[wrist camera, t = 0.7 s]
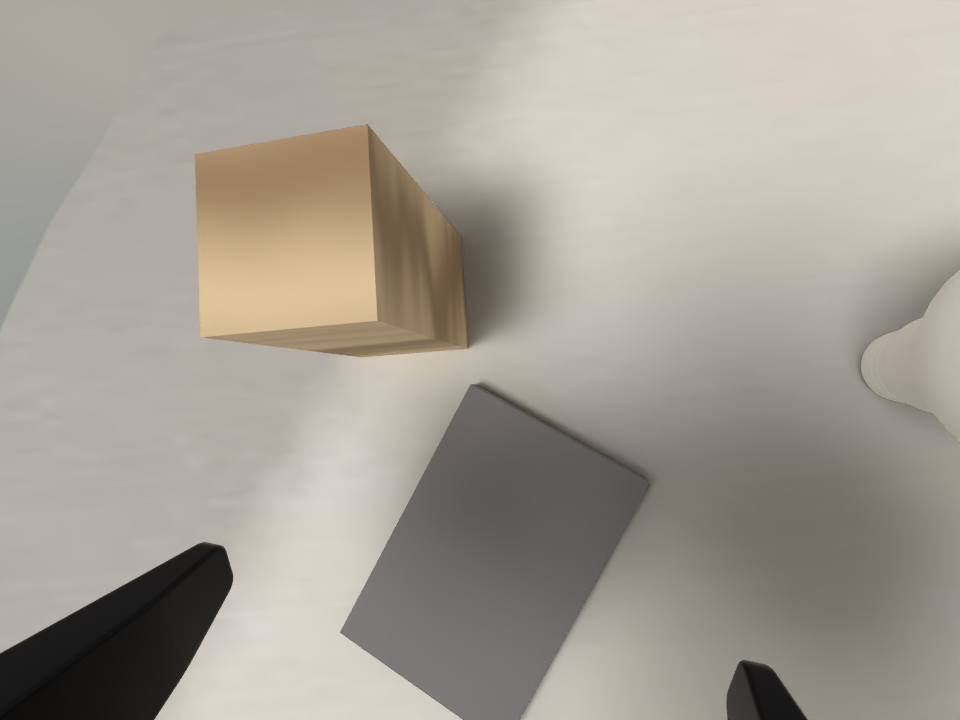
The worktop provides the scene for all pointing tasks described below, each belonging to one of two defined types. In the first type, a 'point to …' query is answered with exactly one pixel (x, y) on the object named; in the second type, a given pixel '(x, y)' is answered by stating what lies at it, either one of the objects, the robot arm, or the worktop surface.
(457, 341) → the oak block
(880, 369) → the lightbulb
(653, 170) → the worktop surface
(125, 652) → the robot arm
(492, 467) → the charcoal mat
